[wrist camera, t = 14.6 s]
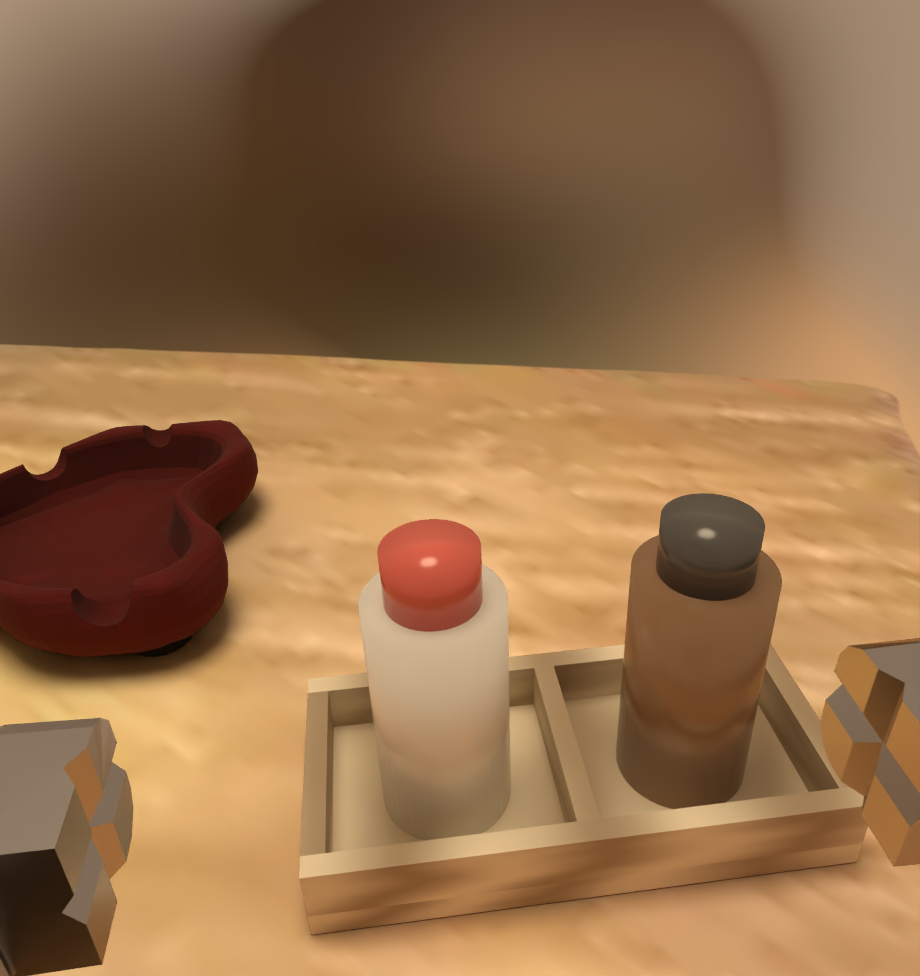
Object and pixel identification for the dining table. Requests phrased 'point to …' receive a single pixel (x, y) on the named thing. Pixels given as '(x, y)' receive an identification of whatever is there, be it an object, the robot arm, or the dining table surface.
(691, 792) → the brown soy bottle
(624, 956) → the dining table surface
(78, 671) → the dining table surface
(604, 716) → the caddy
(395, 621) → the white shaker
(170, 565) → the ashtray
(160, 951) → the dining table surface
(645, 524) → the dining table surface
